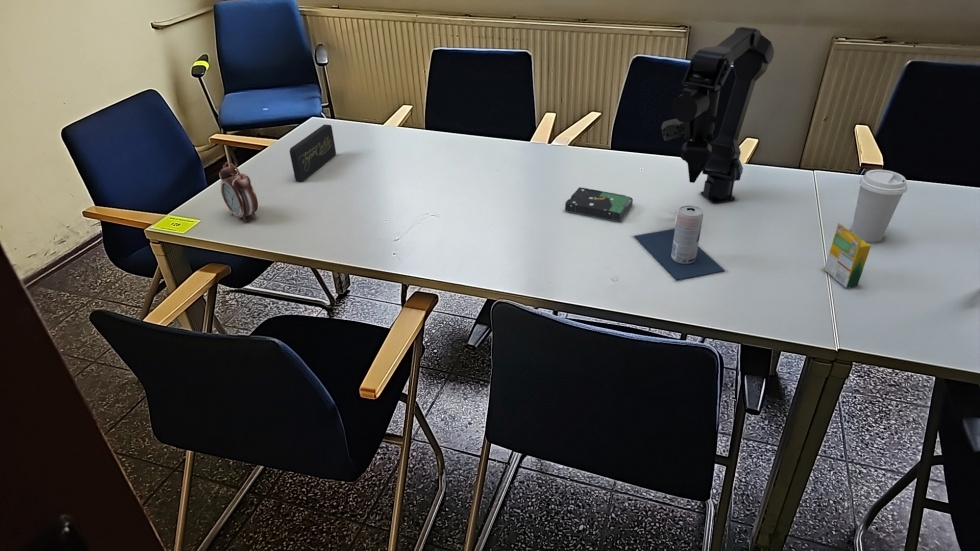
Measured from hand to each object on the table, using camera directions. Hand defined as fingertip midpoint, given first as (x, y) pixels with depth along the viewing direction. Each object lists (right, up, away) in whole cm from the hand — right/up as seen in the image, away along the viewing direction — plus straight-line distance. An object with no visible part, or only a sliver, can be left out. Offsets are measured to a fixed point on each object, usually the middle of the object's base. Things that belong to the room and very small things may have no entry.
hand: (693, 174), depth 154 cm
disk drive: (-20, -7, +15) cm, 26 cm away
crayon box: (+27, -24, -15) cm, 39 cm away
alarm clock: (-112, -9, +17) cm, 113 cm away
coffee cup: (+40, -15, 0) cm, 43 cm away
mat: (-5, -19, -5) cm, 20 cm away
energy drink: (-5, -20, -7) cm, 22 cm away
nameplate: (-99, +8, +42) cm, 108 cm away
